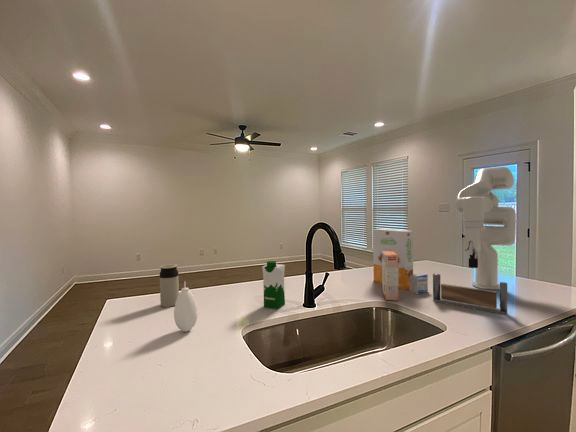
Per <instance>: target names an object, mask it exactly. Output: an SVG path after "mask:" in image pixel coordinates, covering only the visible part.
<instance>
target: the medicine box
mask: <svg viewBox="0 0 576 432" xmlns="http://www.w3.org/2000/svg"><path fill="white" fill-rule="evenodd" d="M428 278H429V276H428V274H426V273H413V275H410V289H409V292H410V293H414V294H416V295H420V294H423V293H427V292H429V283H428V282H429V280H428Z"/></svg>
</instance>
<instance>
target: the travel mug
mask: <svg viewBox="0 0 576 432" xmlns="http://www.w3.org/2000/svg"><path fill="white" fill-rule="evenodd" d="M159 268H160V272H159V291H160V292H159V295H160V296H159V297H160V306H161V307H164V308H171V307H170V306H172V307H175V306H174V305H175V303H176V300H177V297H178V295H179V294H180V288H179V287H180V284H179V278H180V277H179V271H178V264H175V263H172V264H171V263H170V264H164V265H160V266H159Z"/></svg>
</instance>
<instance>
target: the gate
mask: <svg viewBox="0 0 576 432" xmlns="http://www.w3.org/2000/svg"><path fill="white" fill-rule="evenodd" d="M440 289H441V299H444V300H450V301H455V302H461V303H467V304H472V305H478V306H484V307H489V308H495V309H496V308H497V306H498V304H497V303H498V302H497V293H498V292H497V291H496V290H489V289H482V288H477V287H469V286H468V287H467V286H462V285H455V284H447V283H440Z"/></svg>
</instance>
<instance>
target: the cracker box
mask: <svg viewBox="0 0 576 432" xmlns="http://www.w3.org/2000/svg"><path fill="white" fill-rule="evenodd" d="M381 285H382V286H381V291H382V294H383V297H384V299H385V301H395V302H396V301H397V302H398V301H399V288H398V255H397V254H396V253H395V252H393V251H382V283H381Z"/></svg>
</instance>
